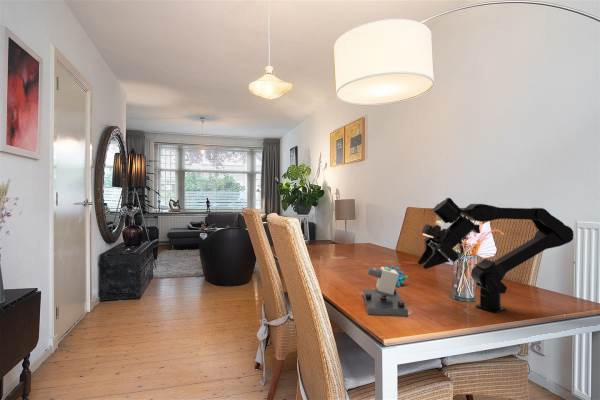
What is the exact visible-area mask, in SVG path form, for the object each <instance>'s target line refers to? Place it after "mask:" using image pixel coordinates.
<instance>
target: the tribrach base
mask: <svg viewBox="0 0 600 400" xmlns="http://www.w3.org/2000/svg"><path fill="white" fill-rule="evenodd" d="M362 296H363V300H364V303H365V304H364V305H365V307H366V311H367V312H366V313H367V314H368V315H375V316H376V315H377V316H393V317H394V316H395V317H396V316H398V317H408V316H409V308H408V307H407V306H406V304H405V302H404V301H403V299H402V298H401V296H400V294H399V293H398V292H397V289H396V288H395V290H394V294H393V296H392V297H389V296H384V295H381V294H379V293H377V292H376V291H375V289H362Z"/></svg>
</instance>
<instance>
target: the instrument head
mask: <svg viewBox="0 0 600 400" xmlns="http://www.w3.org/2000/svg"><path fill="white" fill-rule="evenodd" d="M367 272H368V273H367V275H368V276H371V277H374V278H377V281H376V285H375V289H374V290H375V291H376V292H377V293H379V294H381V295H384V296H389V297H392V296H393V294H394V290H395V289H396V287H397V279H398V275H400V274H398V273H397V272H398V271H397V272H396V271H395V269H393V270H392V269H391V267H389V268H388V267H386V266H380V268H376V267H371V266H369V268H368V270H367Z"/></svg>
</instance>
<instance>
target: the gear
mask: <svg viewBox="0 0 600 400" xmlns="http://www.w3.org/2000/svg"><path fill="white" fill-rule="evenodd" d="M385 267H388V268H390V269H392V270H395V271H396V272H397V273H398V274H399V275H398V279H397V283H396V287H400V286H401V285H403V284H404V283H405V280H407V279H408V275H403V274H404V271H402V270H401V271H400V268H399V267H398V266H397V267H396V268H395V265H390V267H389V265H386V266H385ZM394 268H395V269H394Z"/></svg>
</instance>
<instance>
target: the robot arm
mask: <svg viewBox="0 0 600 400" xmlns="http://www.w3.org/2000/svg"><path fill="white" fill-rule="evenodd" d="M432 213H434V214H435V215H436V216H437V218H440V220H441V221H442V222H444V223H445V224H448V223H449V224H450V225H449V226H448V227H447V228H442V226H440V225H437V224H434V225H433V226H432V225H430V224H427V223H425V225H424V226H423V229H422V230H421V234H425V235H427V236H426V238H424V239H423V240H422V241H423V242H424V250H423V252H422V254H421V256H420V257H419V259H418V261H417V263H418V265H420V266H421V265H423V266H422V268H423V269H424V270H427V269H430V268H433V267H436V266H439V265H442V264H446V263H450V261H451V262H452V263H456V262H457V260H458V259H459V253H458V252H457V251H456V250H455V247H456V246H458V245H461V244H463V240H464V239H465V238H466V237H467V236H468V235H469V234H471V232H473V233H474V234H480V233H481V230H480V224H475V223H474V222H480V223H482V222H491V221H495V220H501V219H502V220H530V221H532V223H533V224H534V227H535V228H536V229H537V231H536V232H535V235H534V236H533V237H532V238H531V239H530V240H528V241H526V242H524V243H523V244H521V245H520V246H517V247H516V248H514V249H513V250H511V251H509V252H507V253H505V254H504V255H502V256H501V257H499V258H498V259H495V260H489V259H487V258H484V259H483V260H481V261H480V262H479V263H476V264H474V266H473V268H471V273H470V276H471V279H472V280H474V282H475V284H476V286H477V287H480V289H479V292H480V293H479V294H480V295H479V304H475V308H477V309H481V310H484V311H488V312H491V313H498V312H502V311H505V310H506V309H507V308H506V307H505V306H502V294H504V295H505V294H506V292H507V289H508V287H507V285H505V284H504V283H503V282H502V281H503V279H504V278H505V276H506V274H507V273H509V272H510V271H511V270H513V269H515V268H517V267H518V266H520V265H522V264H524V263H526V262H527V261H528V260H530V259H532V258H534V257H535V256H537V255H539V254H541V253H542V252H544V251H546V250H548V249H553V248H558V247H562V246H564V245H567V244H569V243H571V242H572V241H573V240H574V231H573V229H572V228H571V227H570V226H568V225H565V223H564V222H563V221H561V220H560V219H558V218H556V217H555V216H553V215H552V214H551V213H550V212H549V211H548V210H547V209H545V208H543V207H531V208H530V207H529V208H528V207H527V208H526V207H524V208H523V207H499V206H495V205H491V204H490V205H489V204H485V203H470V204H468V205H467V206H466V207H459V206H458V205H457V204H456V203H455V201H453V199H452V198H451V197H446V198H445V199H444V200H442V201H441V202H439V203H437V204H435V206H434V208H433V209H432ZM465 217H466V218H465Z"/></svg>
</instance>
